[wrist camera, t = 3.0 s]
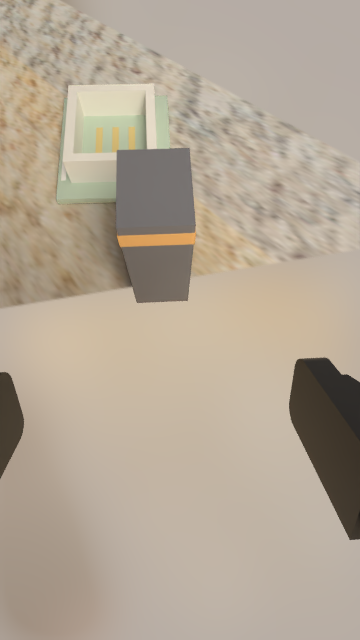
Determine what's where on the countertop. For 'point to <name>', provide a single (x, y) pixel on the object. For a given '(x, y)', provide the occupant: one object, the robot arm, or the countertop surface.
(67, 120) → the board
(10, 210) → the countertop surface
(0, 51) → the countertop surface
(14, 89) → the countertop surface
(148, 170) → the plug
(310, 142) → the countertop surface
